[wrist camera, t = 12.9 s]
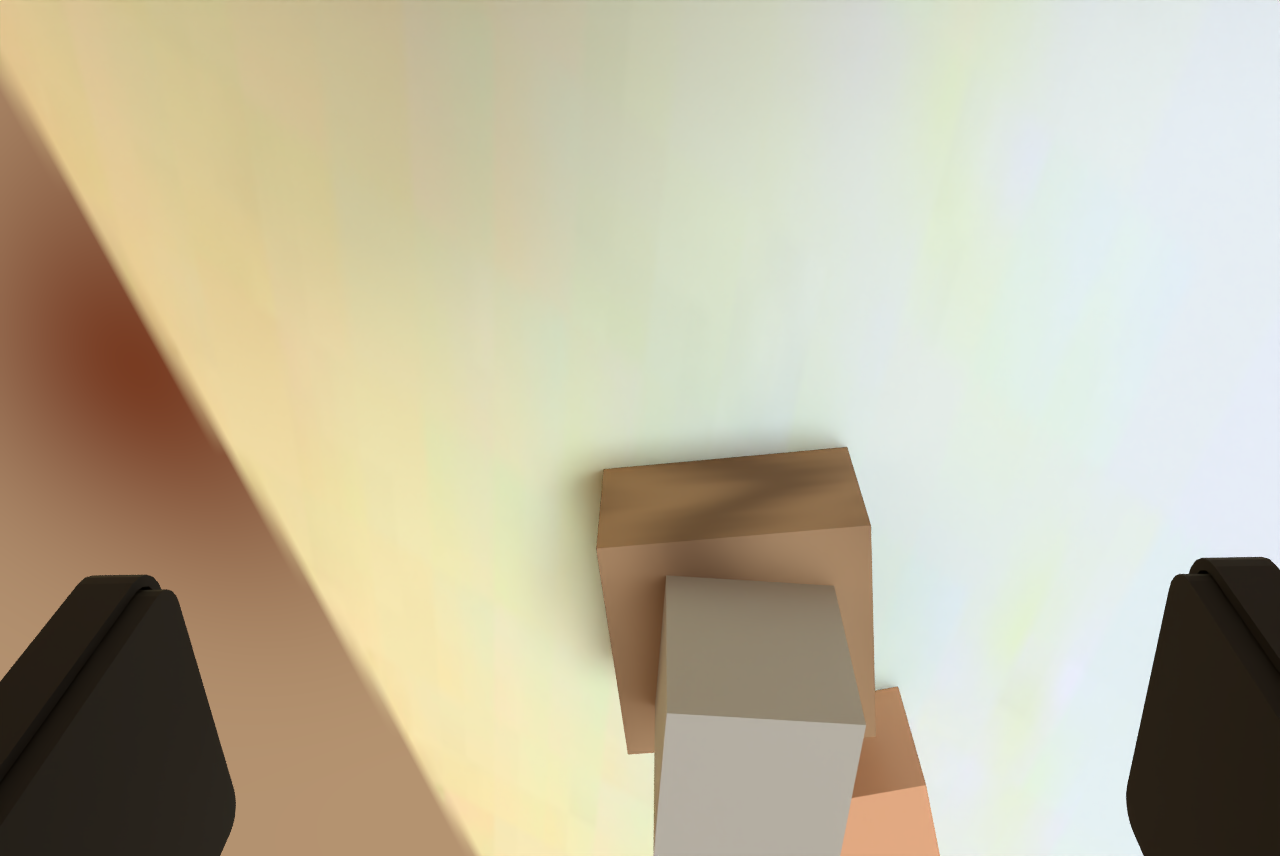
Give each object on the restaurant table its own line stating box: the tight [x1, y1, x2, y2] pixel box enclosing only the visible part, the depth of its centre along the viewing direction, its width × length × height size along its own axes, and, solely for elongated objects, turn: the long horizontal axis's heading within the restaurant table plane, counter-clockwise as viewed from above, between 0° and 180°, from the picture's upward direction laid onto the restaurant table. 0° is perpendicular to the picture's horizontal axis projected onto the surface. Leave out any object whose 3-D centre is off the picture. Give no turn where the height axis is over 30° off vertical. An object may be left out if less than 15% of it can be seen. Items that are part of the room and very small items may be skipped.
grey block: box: [654, 576, 866, 856], centre depth 32 cm, size 5×5×6 cm
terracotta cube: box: [840, 687, 940, 856], centre depth 41 cm, size 5×5×5 cm
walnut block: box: [596, 447, 876, 754], centre depth 37 cm, size 8×8×5 cm
